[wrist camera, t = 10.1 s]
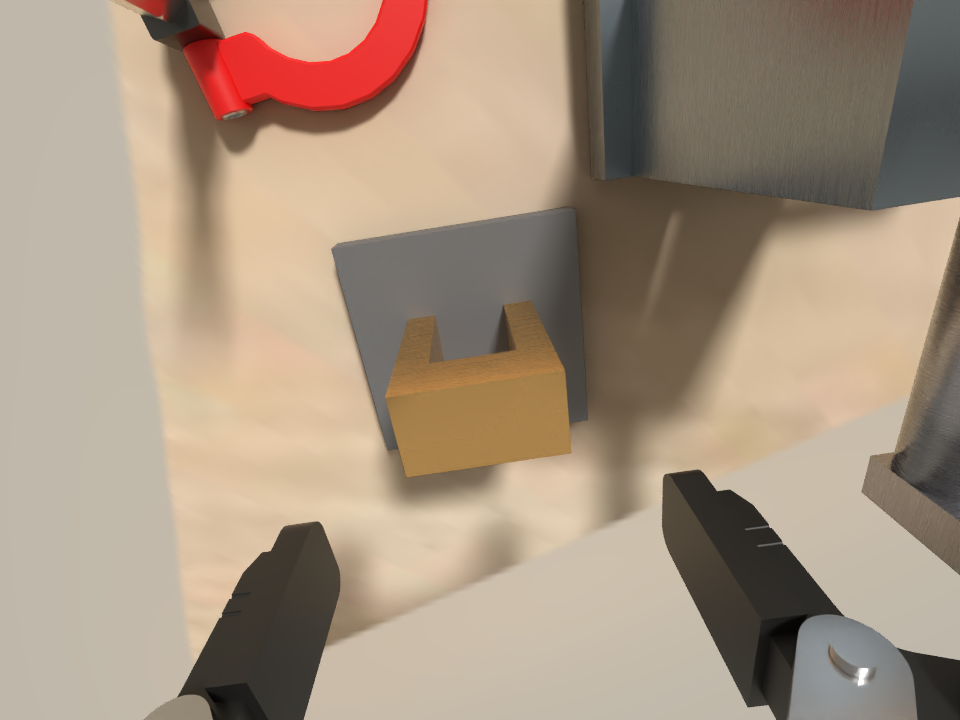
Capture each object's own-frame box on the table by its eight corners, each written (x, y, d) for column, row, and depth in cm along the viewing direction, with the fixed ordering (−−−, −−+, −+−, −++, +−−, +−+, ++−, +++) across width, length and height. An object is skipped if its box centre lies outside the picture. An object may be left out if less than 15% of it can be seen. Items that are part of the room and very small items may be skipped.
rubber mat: (569, 206, 20) (575, 209, 18) (581, 407, 24) (587, 420, 23) (338, 243, 20) (331, 248, 19) (390, 436, 24) (387, 449, 23)
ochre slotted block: (530, 300, 20) (565, 370, 14) (537, 362, 21) (571, 453, 15) (407, 319, 20) (385, 397, 14) (421, 380, 21) (406, 477, 15)
